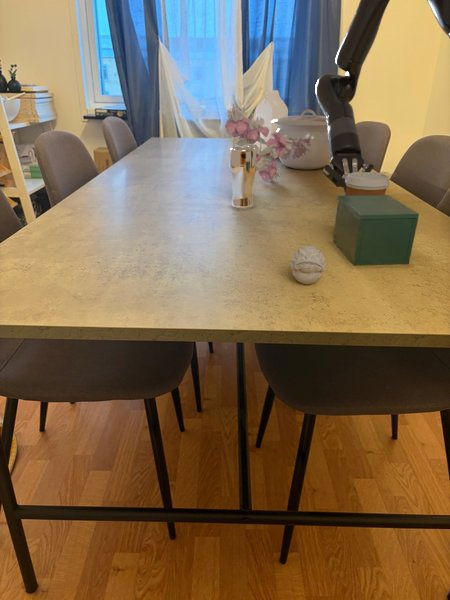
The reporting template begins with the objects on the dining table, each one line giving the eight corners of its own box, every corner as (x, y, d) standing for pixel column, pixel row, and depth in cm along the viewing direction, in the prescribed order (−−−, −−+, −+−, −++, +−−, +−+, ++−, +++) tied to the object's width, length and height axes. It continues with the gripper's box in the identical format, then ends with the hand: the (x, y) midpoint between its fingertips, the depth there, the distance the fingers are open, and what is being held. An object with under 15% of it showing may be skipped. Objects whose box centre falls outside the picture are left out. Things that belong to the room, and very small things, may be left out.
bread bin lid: (337, 199, 89) (337, 195, 89) (387, 198, 90) (387, 194, 89) (360, 219, 77) (360, 215, 76) (418, 218, 77) (419, 213, 77)
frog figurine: (287, 291, 71) (290, 251, 68) (288, 274, 77) (291, 237, 74) (325, 293, 70) (329, 253, 67) (323, 276, 76) (327, 238, 73)
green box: (333, 241, 93) (337, 200, 89) (381, 239, 93) (388, 199, 89) (353, 265, 81) (360, 219, 77) (408, 264, 81) (418, 218, 77)
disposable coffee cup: (387, 226, 101) (396, 174, 96) (373, 237, 95) (382, 182, 89) (348, 219, 106) (354, 169, 101) (332, 229, 99) (339, 176, 94)
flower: (295, 189, 129) (303, 105, 128) (220, 181, 128) (227, 96, 127) (283, 202, 149) (289, 129, 148) (218, 196, 148) (224, 122, 147)
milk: (270, 147, 215) (272, 89, 203) (287, 150, 207) (290, 90, 195) (252, 150, 208) (254, 90, 196) (269, 153, 200) (272, 90, 188)
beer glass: (250, 209, 115) (252, 150, 108) (226, 207, 117) (226, 149, 110) (257, 203, 120) (259, 147, 114) (234, 201, 123) (234, 145, 116)
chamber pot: (343, 174, 156) (350, 112, 146) (266, 172, 159) (269, 111, 150) (337, 161, 180) (343, 107, 171) (271, 159, 184) (274, 106, 175)
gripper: (322, 131, 107) (330, 192, 102) (374, 130, 108) (385, 191, 103) (314, 150, 114) (322, 208, 109) (363, 149, 115) (373, 207, 110)
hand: (352, 200), depth 106 cm, fingers closed
